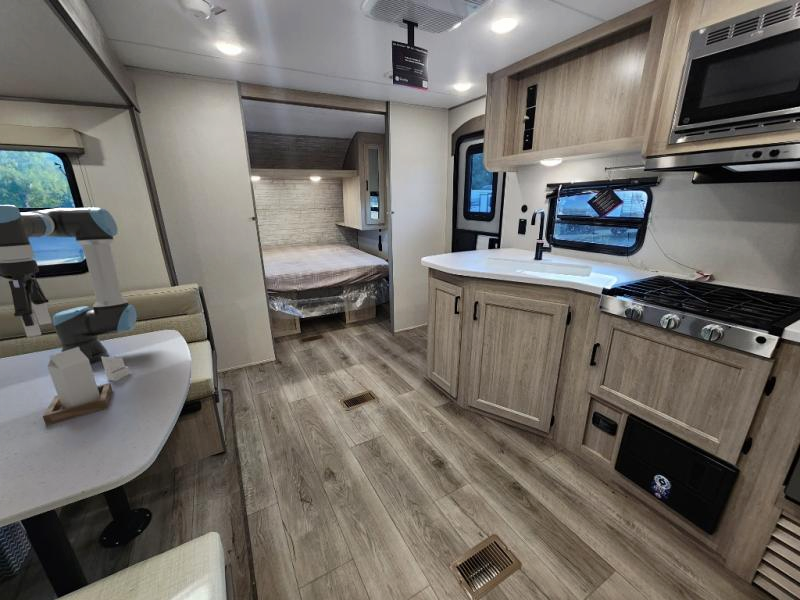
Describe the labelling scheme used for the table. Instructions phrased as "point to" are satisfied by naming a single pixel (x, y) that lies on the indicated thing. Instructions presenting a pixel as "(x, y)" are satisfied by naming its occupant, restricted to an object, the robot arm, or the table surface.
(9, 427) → the table surface
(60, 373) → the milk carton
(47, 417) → the square wooden tray
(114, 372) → the white angled block
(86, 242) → the robot arm
